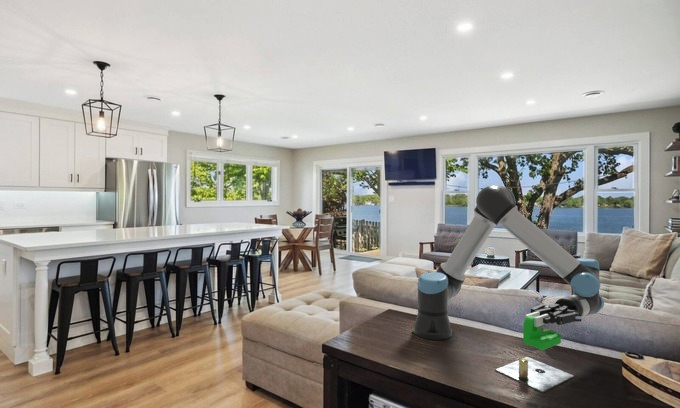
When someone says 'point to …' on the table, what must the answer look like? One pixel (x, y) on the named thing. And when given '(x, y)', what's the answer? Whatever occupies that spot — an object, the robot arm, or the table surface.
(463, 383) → the table surface
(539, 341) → the mechanical part
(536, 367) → the bolt plate
